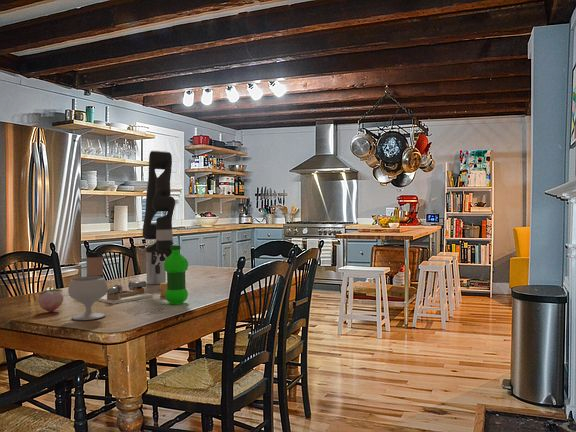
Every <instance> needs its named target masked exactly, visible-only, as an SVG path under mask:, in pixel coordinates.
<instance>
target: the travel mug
mask: <svg viewBox="0 0 576 432" xmlns="http://www.w3.org/2000/svg"><path fill="white" fill-rule="evenodd" d="M85 254H86V256H85V257H86V260H85V261H86V277H88V276H101V277H104V262H103V261H104V258H103V251H102V250H101V251H98V250H95V251H94V250H93V251H86V252H85Z"/></svg>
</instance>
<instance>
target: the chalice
mask: <svg viewBox="0 0 576 432" xmlns="http://www.w3.org/2000/svg"><path fill="white" fill-rule="evenodd" d="M108 289H109V288H108V284H107V280H106V279H105V277H104V276H103V277H101V276H88V277H87V276H79V277H74V278H71V279H70V281H69V284H68V288H67V293H68V296H69V297H70V298H71V299H73V300H74V301H77V302H79V303H81V304H83V305H84V307H85V311H84V312H83V313H80V314H75V315H73V316H72V317H71V320H74V321H92V320H98V319H102V318H104V317H106V314H105V313H103V312H93V311H92V306H93V304H94V303H96V302H98V299H100V298H102V297H103V296H104V295H107V294H108V293H107V291H108Z"/></svg>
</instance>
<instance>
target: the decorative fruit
mask: <svg viewBox="0 0 576 432" xmlns="http://www.w3.org/2000/svg"><path fill="white" fill-rule="evenodd" d="M63 291H64V290H61V289H59V288H53V289H52V287H49V289H47V290H42V291H40V292H39V293H38V304H39V306H40V308H42V310H44V311H47V312H49V313H52V312H54V311H56V310H57V309H58V308H59V307H60V306H61V305H62V304H63V301H64V296H63V294H62V293H63Z"/></svg>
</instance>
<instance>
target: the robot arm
mask: <svg viewBox="0 0 576 432" xmlns="http://www.w3.org/2000/svg"><path fill="white" fill-rule="evenodd" d="M172 167H173V157H172V154H171V152H169V151H166V150H151V151H150V152H149V156H148V180H147V187H146V197H145V212H144V219H143V225H142V237H143V239H144V240H155V242H154V243H152V244H151V245H148V246H146V247H145V259H146V260H145V266H146V283H147V285H160V283H167V272H166V271H165V269H164V261H165V259H166V258H167V257H168V256H170V255H171V254H172V250H171V245H174V239H173V237H174V235H173V215H174V210H175V208H176V207H175V206H176V200H175V198H174V197H173V196H171V177H172ZM156 170H163V172H162V173H161V174H160V175H159V176H158V175H157V173H156ZM158 212H161V213H162V212H166V213H167V214H165V215H162V216H158V217H157V218H156V222H155V221H154V222H153V219H154V217H155V216H156V214H157V213H158Z"/></svg>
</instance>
